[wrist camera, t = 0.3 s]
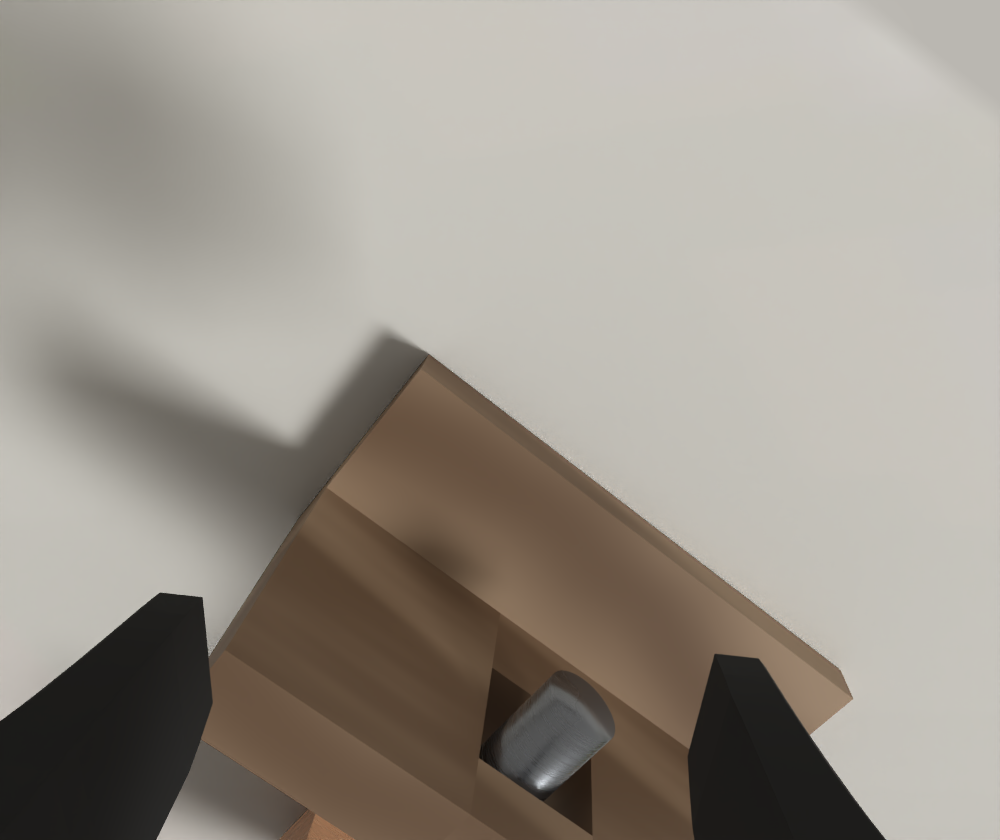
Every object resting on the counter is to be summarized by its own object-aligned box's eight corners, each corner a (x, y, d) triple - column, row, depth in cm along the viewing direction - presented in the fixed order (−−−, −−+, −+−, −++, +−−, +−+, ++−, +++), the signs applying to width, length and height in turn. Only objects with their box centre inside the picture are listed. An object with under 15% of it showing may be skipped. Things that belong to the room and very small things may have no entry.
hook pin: (348, 901, 28) (290, 1109, 22) (268, 850, 27) (188, 1050, 21) (626, 632, 23) (641, 805, 18) (537, 566, 23) (524, 722, 17)
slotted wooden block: (688, 798, 26) (733, 1085, 19) (297, 520, 24) (169, 718, 16) (840, 670, 24) (957, 932, 17) (428, 354, 22) (351, 493, 14)
